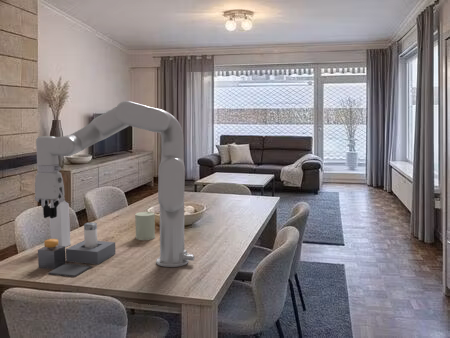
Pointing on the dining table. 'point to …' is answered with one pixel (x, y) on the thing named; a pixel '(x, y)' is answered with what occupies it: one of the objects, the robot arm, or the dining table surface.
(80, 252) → the block
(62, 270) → the mat
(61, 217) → the milk
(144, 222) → the can
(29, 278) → the dining table surface
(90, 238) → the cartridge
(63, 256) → the dark grey cube
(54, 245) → the plunger
